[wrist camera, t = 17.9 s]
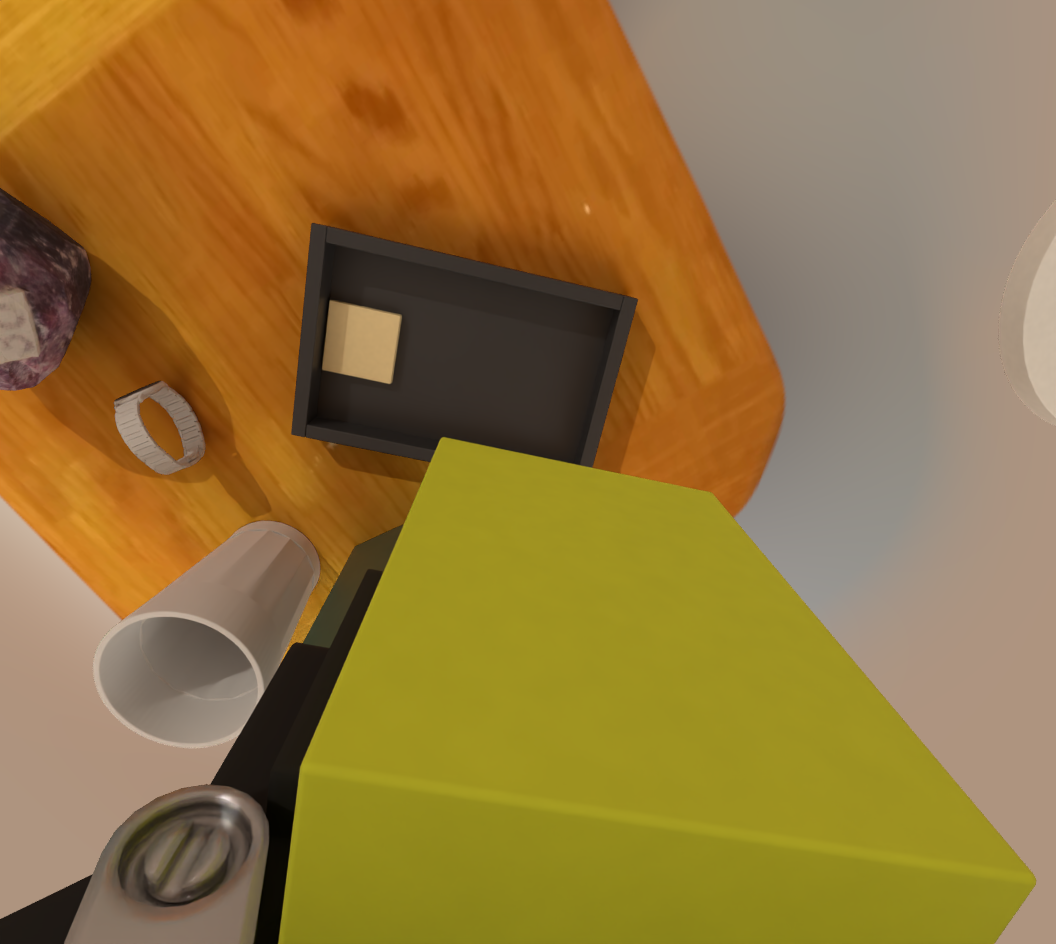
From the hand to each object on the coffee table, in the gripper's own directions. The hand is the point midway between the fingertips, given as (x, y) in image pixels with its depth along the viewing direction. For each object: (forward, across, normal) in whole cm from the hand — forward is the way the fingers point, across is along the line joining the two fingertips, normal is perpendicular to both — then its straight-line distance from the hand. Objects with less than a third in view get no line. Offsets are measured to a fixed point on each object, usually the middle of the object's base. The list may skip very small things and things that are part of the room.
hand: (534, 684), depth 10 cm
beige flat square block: (+28, +9, 0) cm, 29 cm away
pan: (+28, +4, 0) cm, 28 cm away
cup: (+28, +14, +16) cm, 35 cm away
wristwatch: (+28, +20, +7) cm, 35 cm away
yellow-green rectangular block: (+1, 0, 0) cm, 1 cm away
